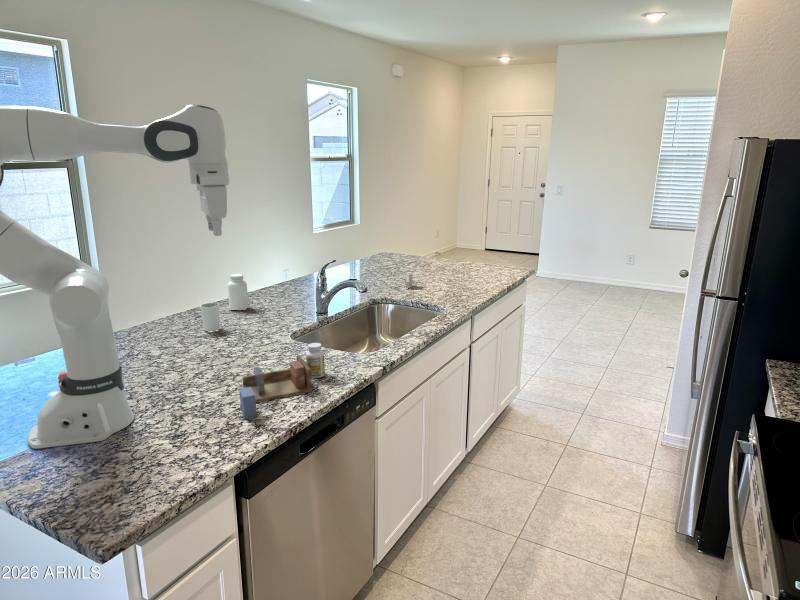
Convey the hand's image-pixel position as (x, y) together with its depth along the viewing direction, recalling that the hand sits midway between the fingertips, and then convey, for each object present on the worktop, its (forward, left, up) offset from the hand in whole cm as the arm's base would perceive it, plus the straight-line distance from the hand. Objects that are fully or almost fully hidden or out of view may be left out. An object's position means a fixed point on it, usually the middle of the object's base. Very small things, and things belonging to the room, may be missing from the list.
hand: (215, 232), depth 134 cm
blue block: (+3, -9, -46) cm, 47 cm away
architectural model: (+99, +90, -47) cm, 141 cm away
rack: (+13, +2, -46) cm, 48 cm away
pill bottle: (+17, +89, -46) cm, 101 cm away
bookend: (+8, +1, -45) cm, 46 cm away
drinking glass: (+3, +65, -46) cm, 79 cm away
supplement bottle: (+26, +7, -46) cm, 53 cm away
